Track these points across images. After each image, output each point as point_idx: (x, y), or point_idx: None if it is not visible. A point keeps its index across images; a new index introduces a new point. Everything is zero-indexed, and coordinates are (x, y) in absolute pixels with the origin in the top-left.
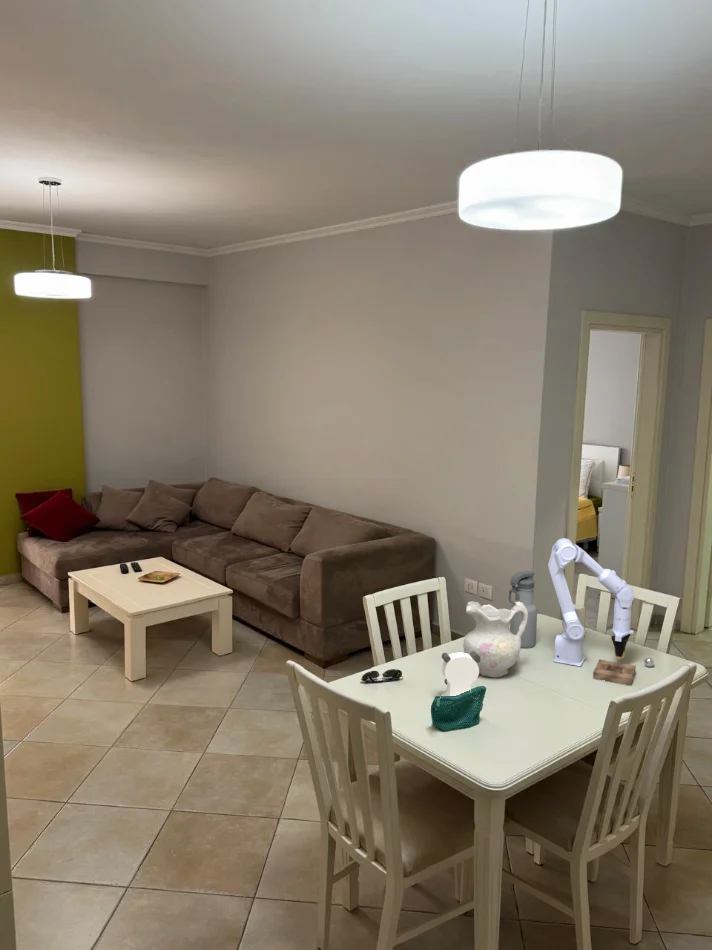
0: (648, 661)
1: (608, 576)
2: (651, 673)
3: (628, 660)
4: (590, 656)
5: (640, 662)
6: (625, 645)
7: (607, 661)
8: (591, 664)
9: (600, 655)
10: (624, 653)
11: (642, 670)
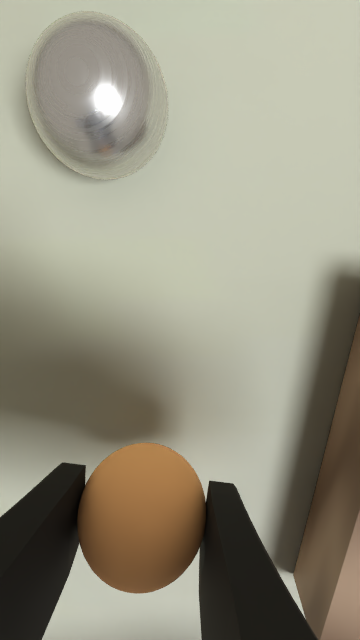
0: (154, 102)
1: None
2: (336, 88)
3: (38, 350)
4: (99, 624)
5: (33, 228)
6: (10, 568)
7: (357, 593)
8: None
9: None
10: (144, 472)
11: (270, 202)
